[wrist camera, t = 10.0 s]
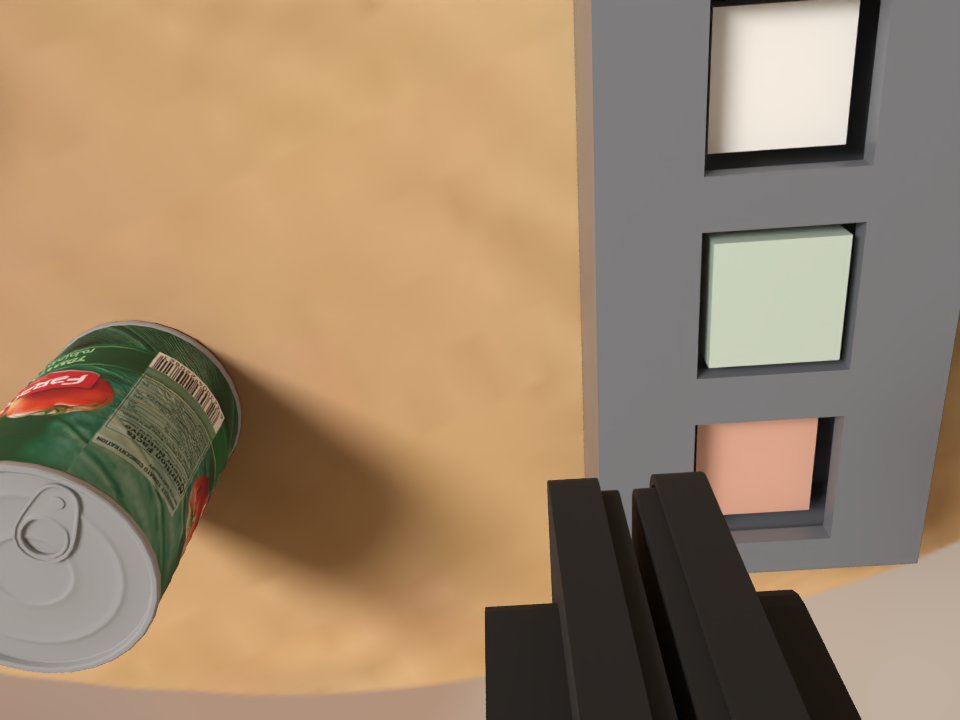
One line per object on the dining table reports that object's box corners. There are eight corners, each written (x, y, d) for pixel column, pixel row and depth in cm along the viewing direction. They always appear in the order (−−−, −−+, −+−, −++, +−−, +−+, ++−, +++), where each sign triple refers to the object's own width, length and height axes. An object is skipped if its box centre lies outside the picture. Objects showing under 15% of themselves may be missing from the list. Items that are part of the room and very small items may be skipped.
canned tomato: (203, 514, 40) (111, 708, 30) (26, 442, 38) (-134, 621, 28) (271, 370, 37) (195, 530, 27) (82, 285, 35) (-74, 422, 25)
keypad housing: (572, -51, 30) (590, -48, 25) (936, -78, 30) (1025, -82, 25) (585, 503, 39) (600, 581, 35) (863, 486, 39) (917, 563, 34)
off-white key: (695, 2, 29) (712, 7, 27) (832, -8, 29) (860, -4, 27) (691, 138, 31) (707, 153, 29) (819, 129, 31) (845, 144, 29)
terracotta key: (684, 386, 35) (697, 416, 33) (798, 379, 35) (819, 409, 33) (681, 482, 37) (694, 516, 35) (789, 476, 37) (809, 509, 35)
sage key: (697, 222, 31) (714, 244, 29) (826, 214, 31) (852, 234, 29) (693, 339, 33) (709, 367, 31) (815, 331, 33) (839, 360, 31)
